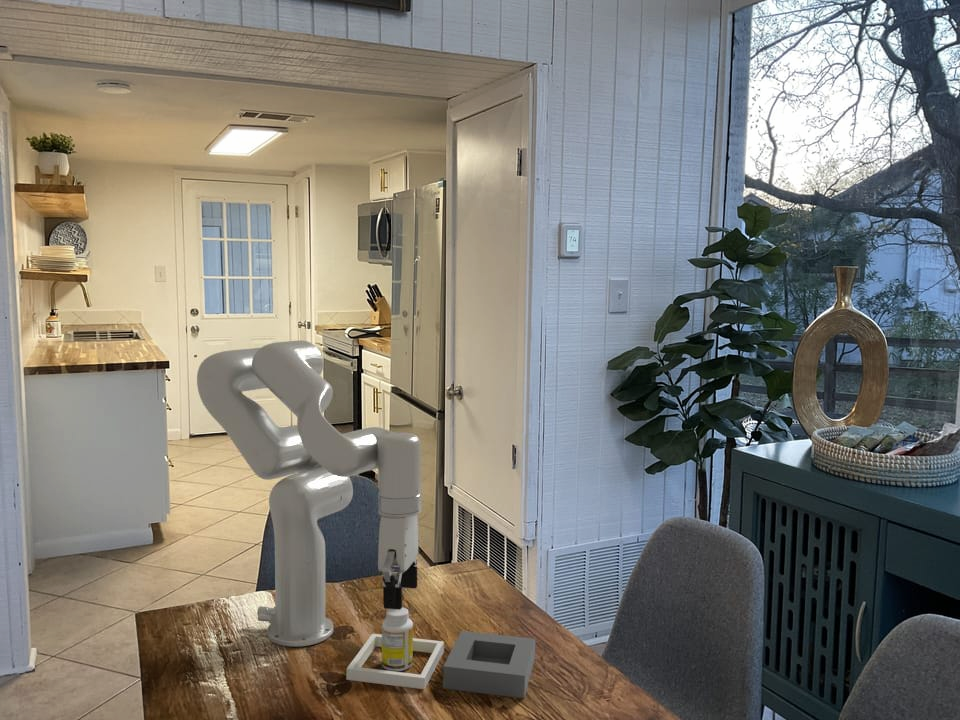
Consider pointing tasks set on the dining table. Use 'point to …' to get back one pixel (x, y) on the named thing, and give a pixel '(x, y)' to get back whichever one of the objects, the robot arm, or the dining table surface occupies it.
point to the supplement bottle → (397, 640)
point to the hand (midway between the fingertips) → (401, 597)
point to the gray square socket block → (490, 664)
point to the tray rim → (392, 677)
